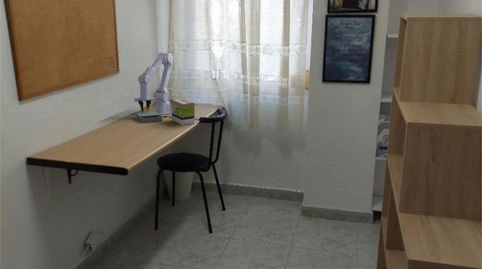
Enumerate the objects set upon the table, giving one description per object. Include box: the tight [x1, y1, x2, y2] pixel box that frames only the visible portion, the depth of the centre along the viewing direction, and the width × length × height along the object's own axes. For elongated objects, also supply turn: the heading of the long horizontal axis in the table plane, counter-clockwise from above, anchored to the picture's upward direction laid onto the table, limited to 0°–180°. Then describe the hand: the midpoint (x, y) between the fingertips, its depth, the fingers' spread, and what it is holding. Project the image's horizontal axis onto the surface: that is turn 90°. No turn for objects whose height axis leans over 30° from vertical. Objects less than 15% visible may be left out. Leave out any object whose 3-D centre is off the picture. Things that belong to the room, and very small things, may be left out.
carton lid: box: [134, 106, 161, 117], centre depth 312 cm, size 14×12×4 cm
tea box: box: [171, 98, 195, 126], centre depth 306 cm, size 15×10×15 cm, turn 37°
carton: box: [136, 114, 163, 124], centre depth 309 cm, size 14×12×3 cm
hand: (144, 111), depth 316 cm, fingers closed on carton lid, 3 cm apart
